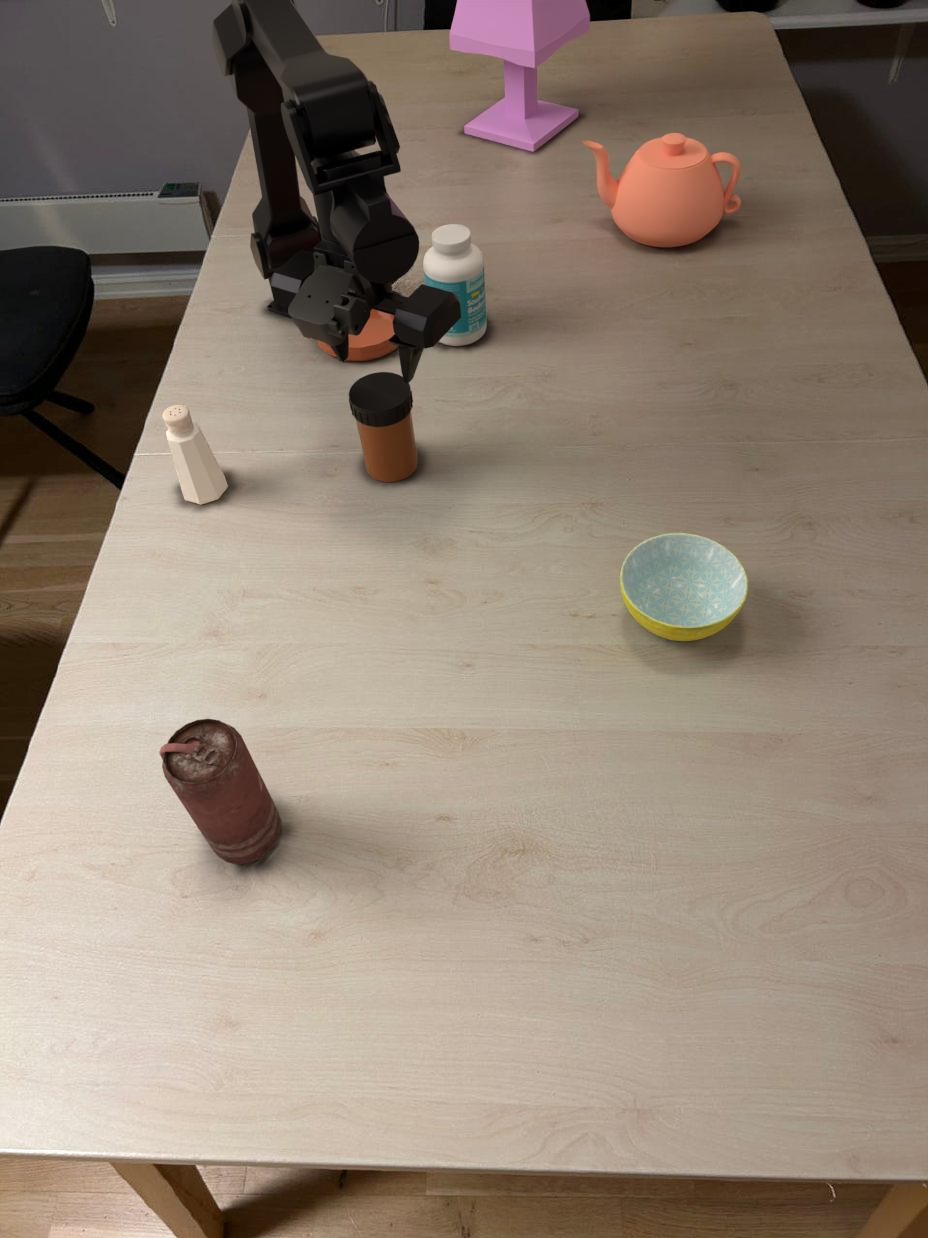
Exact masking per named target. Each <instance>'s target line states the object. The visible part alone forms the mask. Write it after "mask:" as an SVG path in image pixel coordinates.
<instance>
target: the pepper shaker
mask: <svg viewBox="0 0 928 1238" xmlns="http://www.w3.org/2000/svg"><path fill="white" fill-rule="evenodd" d="M162 420H163V421H164V422H165V425H166V428H167V430H166V431H165V434H166V439H167V443H168V446H169V450H170V454H171V457H172V460H173V464H174V468H175V471H176V475H177V479H178V482H179V486H180V489H181V493H182V496H183V499H184V500H185V501H186V502H189V503H193V504H197V505H204V504H205V505H206V504H208V503H212V502H214V501H217V500H219V499H220V498H221V497H222V495H223V494H224V493H225V492H226V490H227V489H228V488H229V484H228V482H227V479H226V477H225V474H224V472H223V470H222V468H221V466H220V464H219V462H218V460H217V458H216V456H215V454H214V453H213V450H212V448H211V446H210V444H209V442H208V440H207V439H206V437H205V435H204V433H203V431H202V429H201V427H200V425H199V424H198V423H197V422H195V421H193V419H192V415H191V413H190V408H188V406H186V405H184V404H173V405H171V406H169V407H167V408H166V409H165V410H163V413H162Z"/></svg>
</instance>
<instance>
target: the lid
mask: <svg viewBox="0 0 928 1238" xmlns="http://www.w3.org/2000/svg"><path fill="white" fill-rule="evenodd" d="M411 389H412V388H411V385H410V382H409V383H405V382H404V379H403V375H400V374H398V373H395V372H389V371H379V372H373V373H369V374H366V375H364V376H361V377H360V378H359V379H357V380H356V381H355V382H354V383H353V384H352V385H351V386H350V388H349V390H348V403H349V407H350V411H351V415H352V417H354V419H355V421H356V420H357V421H359V422H360V423H362V424H364V425H367V426H372V427H385V426H390V425H393V424H396V423H398V422H400V421H402V420H403V419H404V418H406V417H407V416H408V415H409V413H410V412H411V413H412V410H413V408H414V405H413V403H414V398H413V391H412V390H411ZM357 421H356V422H357Z"/></svg>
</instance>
